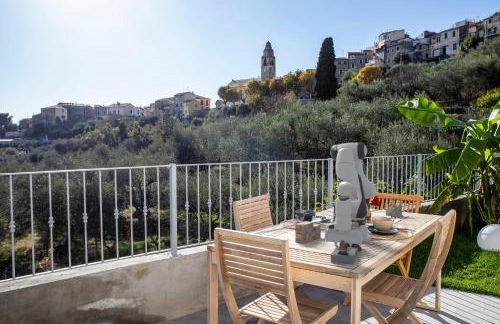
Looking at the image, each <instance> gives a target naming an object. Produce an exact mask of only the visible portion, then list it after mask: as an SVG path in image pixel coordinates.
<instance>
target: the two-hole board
mask: <svg viewBox="0 0 500 324" xmlns="http://www.w3.org/2000/svg"><path fill="white" fill-rule="evenodd" d="M338 247H340V245H338ZM347 248H349V247H347ZM339 249H340V248H339ZM358 253H359V252H358V248H354V247H351V248H350V251H347V255H340V250H336V247H335V248H334V249H333V251H332V252H331V254H330V263H337V264H345V265H354V263H355V262H356V259H357V257H358Z"/></svg>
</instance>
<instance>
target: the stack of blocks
mask: <svg viewBox="0 0 500 324" xmlns="http://www.w3.org/2000/svg"><path fill="white" fill-rule="evenodd" d="M321 226H322V225H321V224H320V223H319V224H318V223H314V222H313V221H307V220H305V221H301V222H297V223H295V225H294V230H295V234H294V236H295V237H294V238H295V241H294V242H295V243H298V244H306V243H309V242H312V241H315V240H318V239H321V237H322V235H321V233H322V231H321V229H322V228H321Z"/></svg>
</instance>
